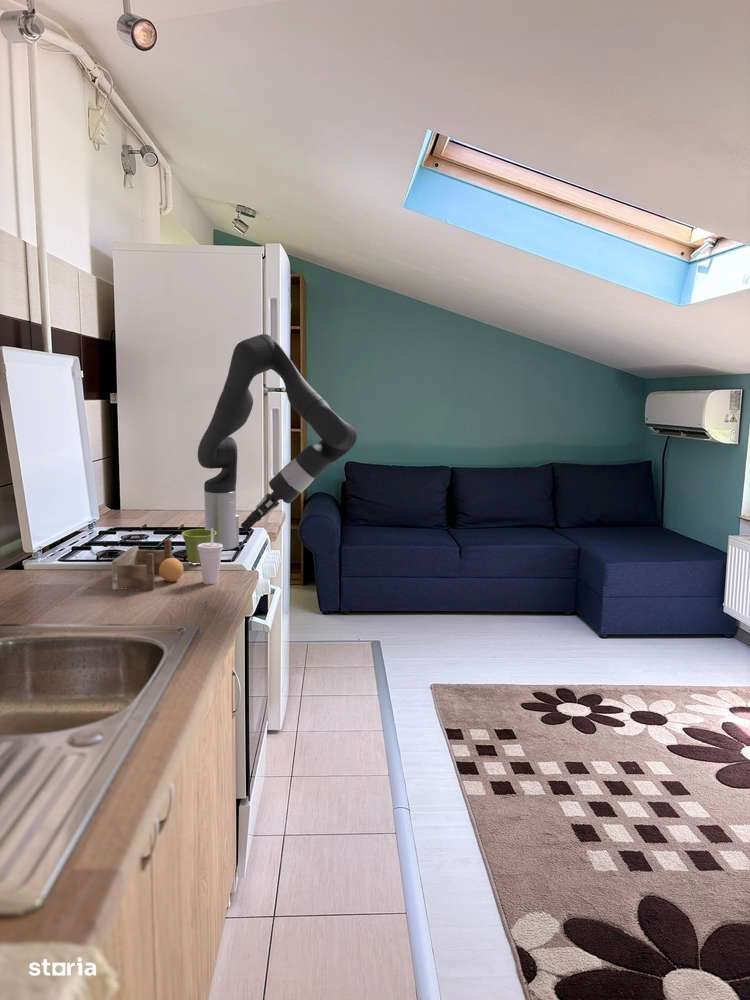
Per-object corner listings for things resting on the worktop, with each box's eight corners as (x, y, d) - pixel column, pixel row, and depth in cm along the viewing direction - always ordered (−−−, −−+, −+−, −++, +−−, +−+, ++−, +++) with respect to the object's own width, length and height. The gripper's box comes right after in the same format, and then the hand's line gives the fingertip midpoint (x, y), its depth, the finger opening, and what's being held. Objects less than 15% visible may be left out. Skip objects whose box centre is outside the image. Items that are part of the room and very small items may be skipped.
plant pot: (223, 561, 228) (223, 531, 226) (203, 568, 219) (202, 537, 218) (196, 557, 232) (195, 527, 230) (175, 564, 223) (174, 533, 222)
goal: (171, 572, 215) (170, 539, 213) (153, 590, 198) (152, 554, 197) (134, 571, 215) (133, 538, 214) (112, 589, 198) (111, 553, 197)
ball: (174, 576, 211) (174, 554, 210) (188, 581, 207) (188, 558, 206) (154, 581, 206) (154, 558, 205) (168, 585, 202) (167, 562, 201)
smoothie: (217, 586, 203) (216, 531, 200) (193, 584, 204) (192, 530, 202) (227, 579, 209) (226, 526, 206) (204, 578, 210) (203, 525, 208)
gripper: (285, 466, 208) (240, 508, 210) (277, 473, 194) (230, 519, 196) (305, 486, 209) (261, 529, 211) (299, 496, 195) (252, 541, 197)
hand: (246, 524), depth 204 cm, fingers open, 8 cm apart
